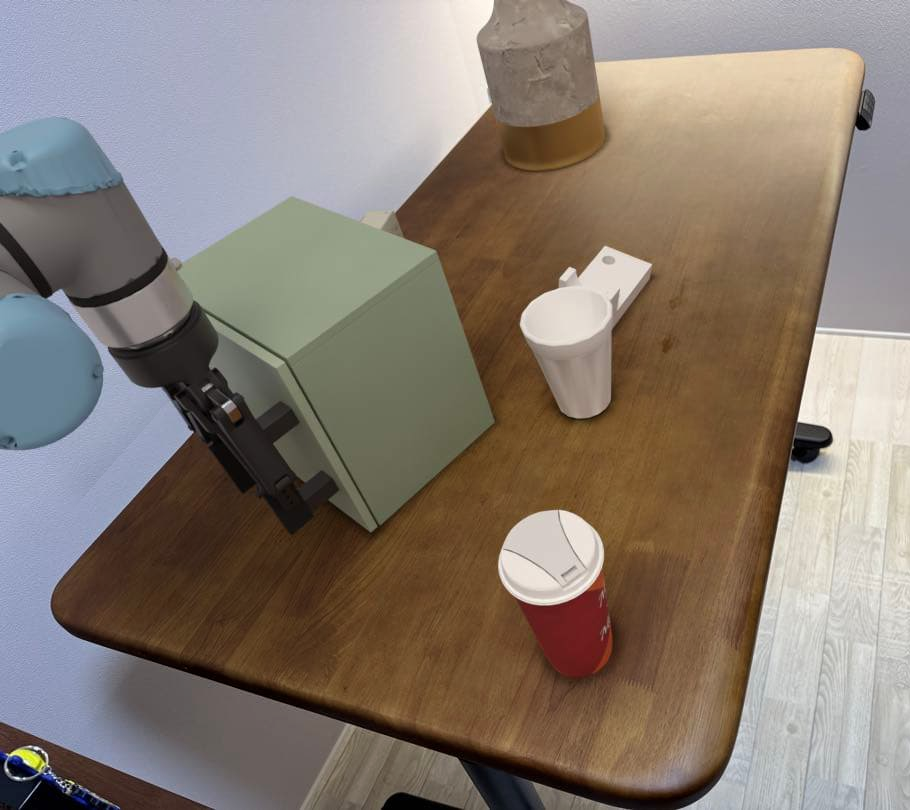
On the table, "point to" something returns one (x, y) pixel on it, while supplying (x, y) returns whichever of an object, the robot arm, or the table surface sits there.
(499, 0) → the vase
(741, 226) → the table surface
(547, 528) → the coffee cup
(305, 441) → the cupboard door
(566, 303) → the cup
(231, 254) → the cupboard
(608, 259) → the bracket
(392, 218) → the cosmetic box
